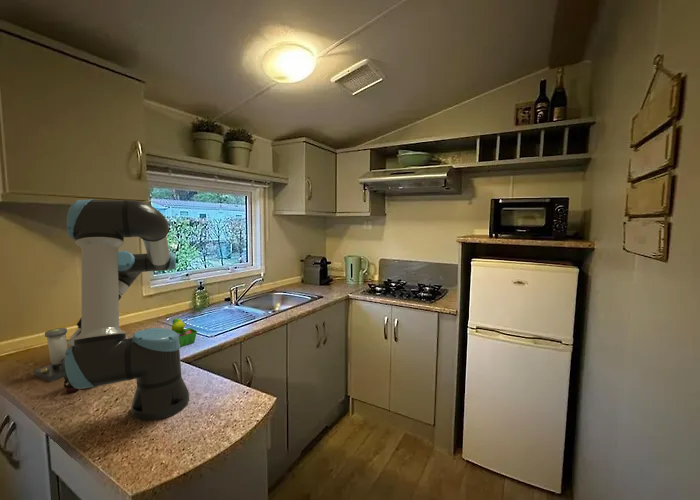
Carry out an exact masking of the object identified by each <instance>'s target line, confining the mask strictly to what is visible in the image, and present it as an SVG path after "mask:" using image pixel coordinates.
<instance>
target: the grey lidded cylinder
mask: <svg viewBox="0 0 700 500" xmlns="http://www.w3.org/2000/svg"><path fill="white" fill-rule="evenodd" d="M67 333H68V329H67V328H66V327H59V328H52V329H49V330H47V331H45V332H44V337H45V338H46V339H47V345H48V346H47V347H48V352H49V361H50V364H52V365H56V364H61V360H63V359H65V352H66V350H67V348H68V345H67V341H68V340H67V335H66V334H67Z"/></svg>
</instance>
